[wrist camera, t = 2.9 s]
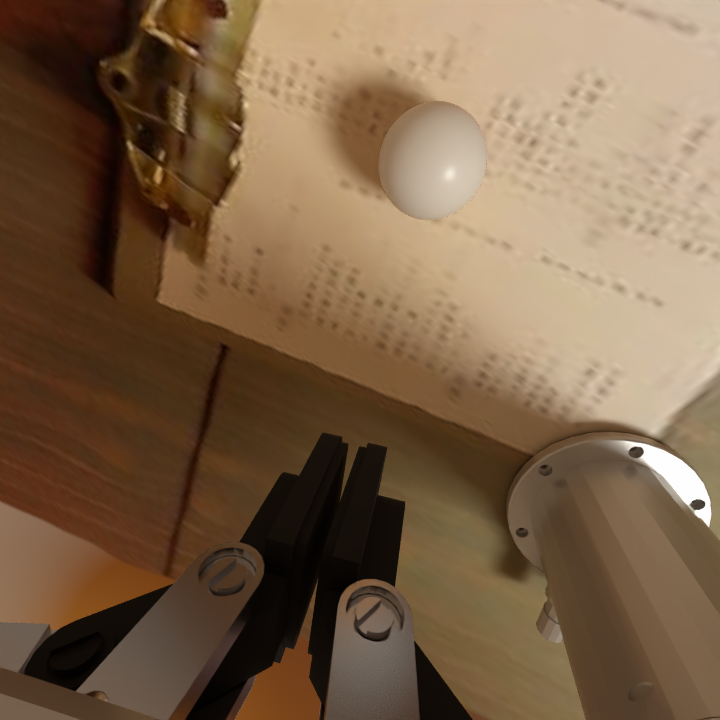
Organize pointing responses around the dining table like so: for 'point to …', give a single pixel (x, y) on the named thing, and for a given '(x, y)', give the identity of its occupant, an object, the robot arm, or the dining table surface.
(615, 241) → the dining table surface
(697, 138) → the dining table surface
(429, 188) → the cue ball
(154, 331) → the dining table surface
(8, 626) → the robot arm
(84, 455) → the dining table surface
